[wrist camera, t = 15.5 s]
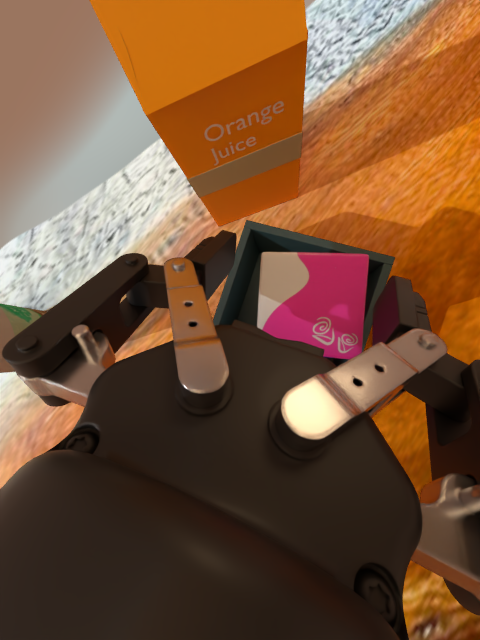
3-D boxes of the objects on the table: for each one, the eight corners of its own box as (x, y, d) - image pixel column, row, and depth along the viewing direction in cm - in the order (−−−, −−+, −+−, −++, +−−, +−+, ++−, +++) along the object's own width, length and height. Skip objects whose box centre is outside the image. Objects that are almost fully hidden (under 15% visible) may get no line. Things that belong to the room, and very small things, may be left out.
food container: (96, 309, 30) (2, 297, 20) (88, 361, 30) (-12, 375, 20) (12, 296, 32) (-109, 279, 22) (4, 344, 32) (-122, 349, 22)
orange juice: (200, 163, 28) (-1, -222, 9) (277, 131, 27) (244, -421, 7) (218, 228, 27) (42, -36, 8) (299, 198, 26) (330, -217, 6)
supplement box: (267, 343, 25) (250, 351, 14) (272, 284, 25) (259, 244, 14) (329, 349, 24) (364, 362, 13) (333, 287, 24) (371, 246, 13)
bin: (256, 247, 27) (246, 219, 20) (367, 277, 24) (395, 256, 18) (224, 344, 27) (203, 348, 20) (331, 383, 24) (346, 401, 18)
